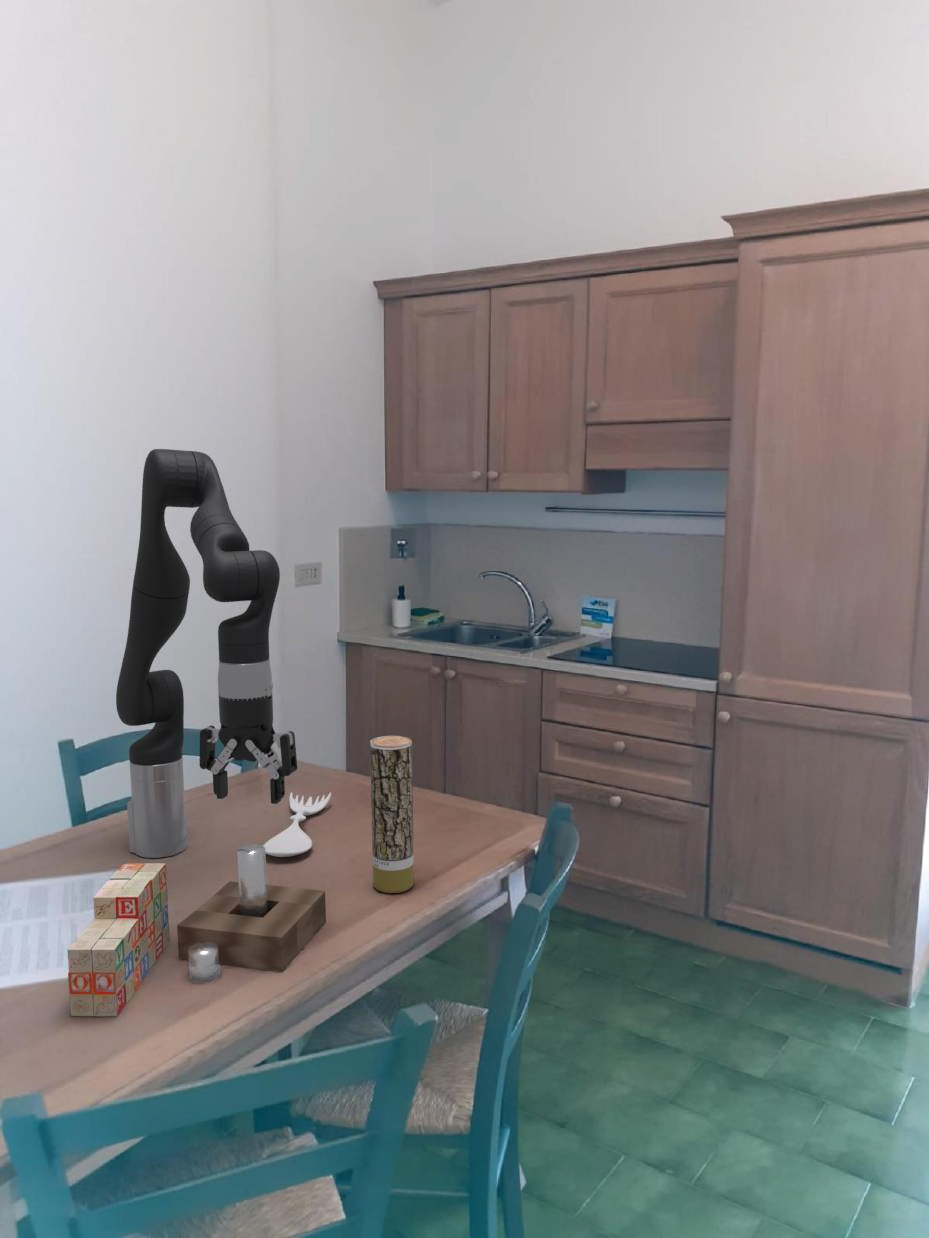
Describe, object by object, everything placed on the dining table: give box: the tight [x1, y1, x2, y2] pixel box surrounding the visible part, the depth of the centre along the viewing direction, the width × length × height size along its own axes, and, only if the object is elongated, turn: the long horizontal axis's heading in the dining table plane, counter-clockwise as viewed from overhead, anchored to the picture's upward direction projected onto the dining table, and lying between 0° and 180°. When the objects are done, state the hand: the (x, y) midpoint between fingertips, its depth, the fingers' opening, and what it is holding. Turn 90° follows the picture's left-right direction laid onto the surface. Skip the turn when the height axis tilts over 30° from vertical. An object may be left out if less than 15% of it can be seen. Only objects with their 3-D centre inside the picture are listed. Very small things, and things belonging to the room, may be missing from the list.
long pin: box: [236, 844, 268, 918], centre depth 147 cm, size 4×4×14 cm
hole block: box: [176, 880, 327, 972], centre depth 148 cm, size 16×16×5 cm
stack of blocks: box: [67, 862, 171, 1017], centre depth 137 cm, size 21×6×12 cm, turn 179°
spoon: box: [262, 791, 332, 858], centre depth 192 cm, size 9×32×4 cm, turn 179°
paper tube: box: [369, 735, 415, 894], centre depth 165 cm, size 7×7×25 cm
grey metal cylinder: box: [188, 942, 221, 984], centre depth 137 cm, size 4×4×4 cm
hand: (249, 799), depth 145 cm, fingers open, 8 cm apart
